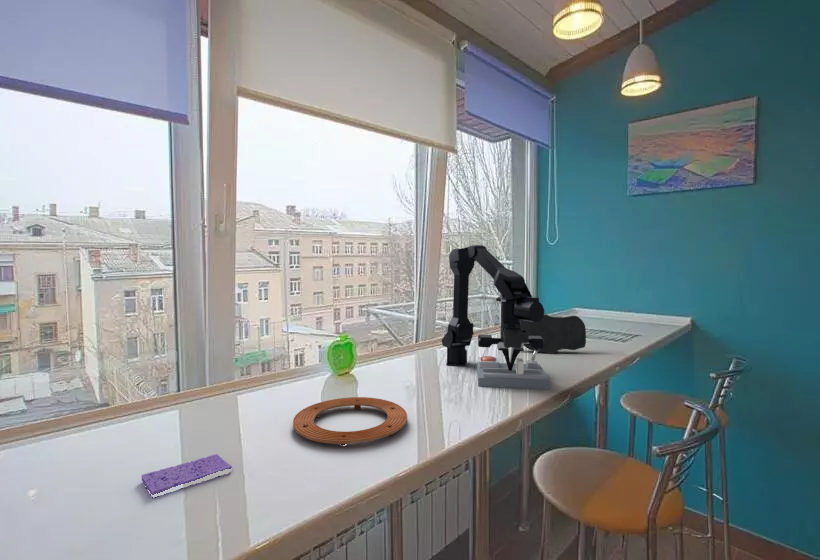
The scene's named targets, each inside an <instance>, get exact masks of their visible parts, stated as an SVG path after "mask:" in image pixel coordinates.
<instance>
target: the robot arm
mask: <svg viewBox="0 0 820 560" xmlns="http://www.w3.org/2000/svg"><path fill="white" fill-rule="evenodd" d="M448 259H449V268H450V270H451V271H452V274H453V298H452V299H453V300H452V301H453V303H452V304H453V306H452V307H453V309H452V318H451V319H450V321H449V323H448V324H447V331H446V333H445V334H444V336H443V337H442V339H441V344H442V345H441V346H442V347H445V348H446V364H445V365H446V366H461V367H463V366H466V363H468V349H466V347H469V346H471V342H472V339H473V336H474V335H475V334H474V323H473V322H471V321H470V319H469V317H468V314H469V287H470V284H469V283H470V282H469V281H470V275H471V273H472V271H473V269H474V267H475V263H478V265H480V267H482V268H483V270H484V271H485V272H486V274H488V275H489V276H490V277H491V278H492V279H493V284H494V286H495V288H496V289H497V292H499V294H500V295H499V296H497V298H496V299H495V301H496V302H499V303H500V337H492V336H493V335H492V334H479V335H478V337H477V346H478V348H491V346H493V345H497V350H498V351H501V352H502V355H503V356H504V359H505V362H506V363H507V366H508V370H509V371H512V368H513V365H514V364H515V363H516V358H518V355H519V354H520V353H521V352H524V351H525V350H524V347H525V346H524V345H531V346H532V347H533V348H534V349H545V341H544V340H543V338H542V337H541V336H529V331H528V330H522V331H521V320H525V321H530V322H539V321H541V319H542V318H543V316H544V314H545V309H544V305H543V304H542V303H541V302H540V298H539V297H537V296H535V297H534V296H532V294H531V291H530V290H529V287H528V285H527V284H526V279H525V278H524V277H523V276H522V275H521V274H519V273H518V272H516V271H514V270H511V269H510V268H507V267H505V266H504V264H502V263H501V262H500V261H499V259H497V258H496V257H495V256H494V255H493V254H492V253H491V252H490V251H489V250H488V248H487V247H486V246H485V245H482V244H472V245H470V246H467V247H463V248H453V249H451V252H449V255H448ZM510 348H511V350H509V349H510ZM510 351H511V352H510Z"/></svg>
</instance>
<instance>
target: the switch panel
mask: <svg viewBox="0 0 820 560" xmlns="http://www.w3.org/2000/svg"><path fill="white" fill-rule="evenodd" d="M482 357H483V356H478V362H476V373H477V375H476V376H477V386H478V387H490V388H491V387H493V388H510V389H511V388H514V389H516V388H517V389H541V390H542V389H544V390H550V389H551V380H550V378H549V376H548V375H547V373H546V371H545V370H544V369H543V367H542V366H541V364H539V363H538V361H537V360H534V361H531V359H530V360H526V361H525V362H526V363H524V375H517V373H516V363H514V365H513V368H512V371H509V370H508V366H507V363H503V362H500V361H499V358H498V357H495V362H490V361H482Z"/></svg>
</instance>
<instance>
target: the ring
mask: <svg viewBox="0 0 820 560" xmlns="http://www.w3.org/2000/svg"><path fill="white" fill-rule="evenodd" d="M349 406H350V407H351V406H352V407H354V408H353V409H354V410H361V407H362V406H363V407H371V408H375V409H378V410H380V411H383V412H384V413H385V414H386V415H387V418H386V419H385V420H384V421H383V422H382V423H380V424H378V425H376V426H373V427H370V428H367V429H361V430H351V431H350V430H349V431H341V430H337V431H336V430H330V429H327V428H326V429H325V428H323V427H320V426H319V425H317V423H315V419H316V418H319V417H320V416H321V413H324V412H326V411H329V410H333V409H337V408H341V407H349ZM318 416H319V417H318ZM407 423H408V413H407V411H406V410H405V409H404V407H403V406H401V405H399V404H398V403H395V402H393V401H391V400H386V399H382V398H376V397H363V396H362V397H361V396H353V397H342V398H341V397H340V398H334V399H333V398H332V399H329V400H328V399H327V400H325V401H321V402H317V403H314V404H312V405H309V406H307V407H305V408H303V409H301V410H300V411H298V413H296V414H295V415H294V417H293V419H292V426H293V430H294V431H295V432H296V433H297V434H298V435H299V436H301V437H302V438H305V439H307V440H310V441H313V442H318V443H324V444H335V445H336V444H338V445H339V444H341V445H345V444H347V445H348V444H357V443H358V444H359V443H364V442H371V441H375V440H379V439H383V438H386V437H390V436H389V435H393V434H394V435H395V433H397V432H398V431H400V430H401V429H403V428H404V427H405V426H406V425H407ZM394 435H393V436H394Z"/></svg>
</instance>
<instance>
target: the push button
mask: <svg viewBox="0 0 820 560" xmlns="http://www.w3.org/2000/svg"><path fill="white" fill-rule="evenodd" d="M481 357H482V361H490V362H495V358H496V357H495V356H492V355H491V356H490V355H483V356H481Z"/></svg>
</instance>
